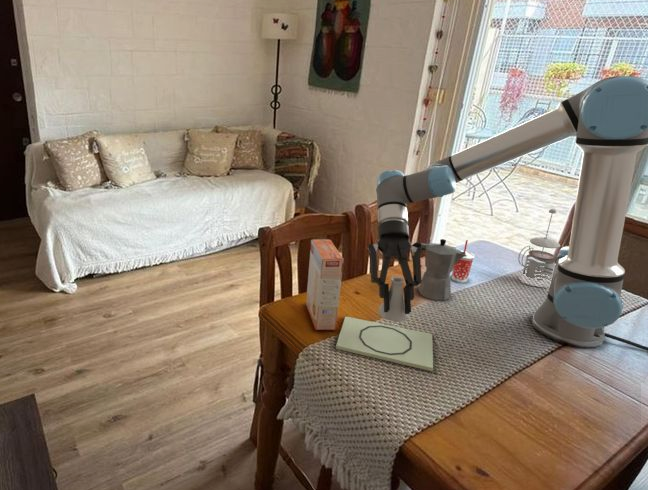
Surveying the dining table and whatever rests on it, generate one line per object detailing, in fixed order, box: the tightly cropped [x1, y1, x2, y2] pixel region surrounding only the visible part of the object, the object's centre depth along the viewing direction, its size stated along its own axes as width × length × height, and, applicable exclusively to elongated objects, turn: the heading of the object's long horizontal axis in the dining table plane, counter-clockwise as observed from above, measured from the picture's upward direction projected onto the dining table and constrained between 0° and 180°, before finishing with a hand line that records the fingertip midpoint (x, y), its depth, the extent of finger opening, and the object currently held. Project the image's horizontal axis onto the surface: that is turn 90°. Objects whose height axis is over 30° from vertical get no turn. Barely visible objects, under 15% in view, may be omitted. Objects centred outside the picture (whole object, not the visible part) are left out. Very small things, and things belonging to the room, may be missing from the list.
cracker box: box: [305, 238, 345, 331], centre depth 119 cm, size 14×6×21 cm, turn 0°
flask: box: [377, 276, 408, 323], centre depth 109 cm, size 7×7×10 cm
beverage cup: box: [451, 239, 475, 284], centre depth 143 cm, size 6×6×14 cm
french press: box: [517, 208, 561, 281], centre depth 140 cm, size 10×12×25 cm
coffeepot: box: [409, 238, 466, 301], centre depth 134 cm, size 15×9×18 cm, turn 59°
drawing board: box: [335, 315, 434, 372], centre depth 111 cm, size 22×15×1 cm
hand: (397, 311), depth 106 cm, fingers closed on flask, 4 cm apart
